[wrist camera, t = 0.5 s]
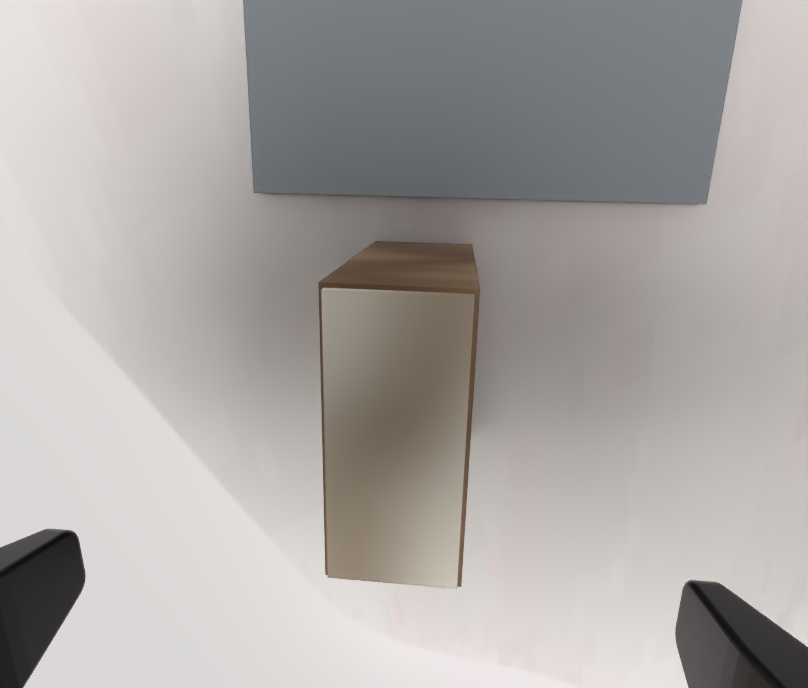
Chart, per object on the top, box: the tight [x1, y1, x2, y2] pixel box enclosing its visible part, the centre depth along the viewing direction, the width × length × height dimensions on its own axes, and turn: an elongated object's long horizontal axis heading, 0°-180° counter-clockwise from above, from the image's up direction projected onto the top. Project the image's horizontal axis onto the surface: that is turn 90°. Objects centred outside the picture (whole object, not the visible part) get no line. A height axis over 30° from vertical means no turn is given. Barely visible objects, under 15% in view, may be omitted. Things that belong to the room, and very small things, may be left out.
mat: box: [243, 0, 742, 204], centre depth 16 cm, size 14×11×1 cm
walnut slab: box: [319, 241, 480, 589], centre depth 15 cm, size 3×7×8 cm, turn 179°
